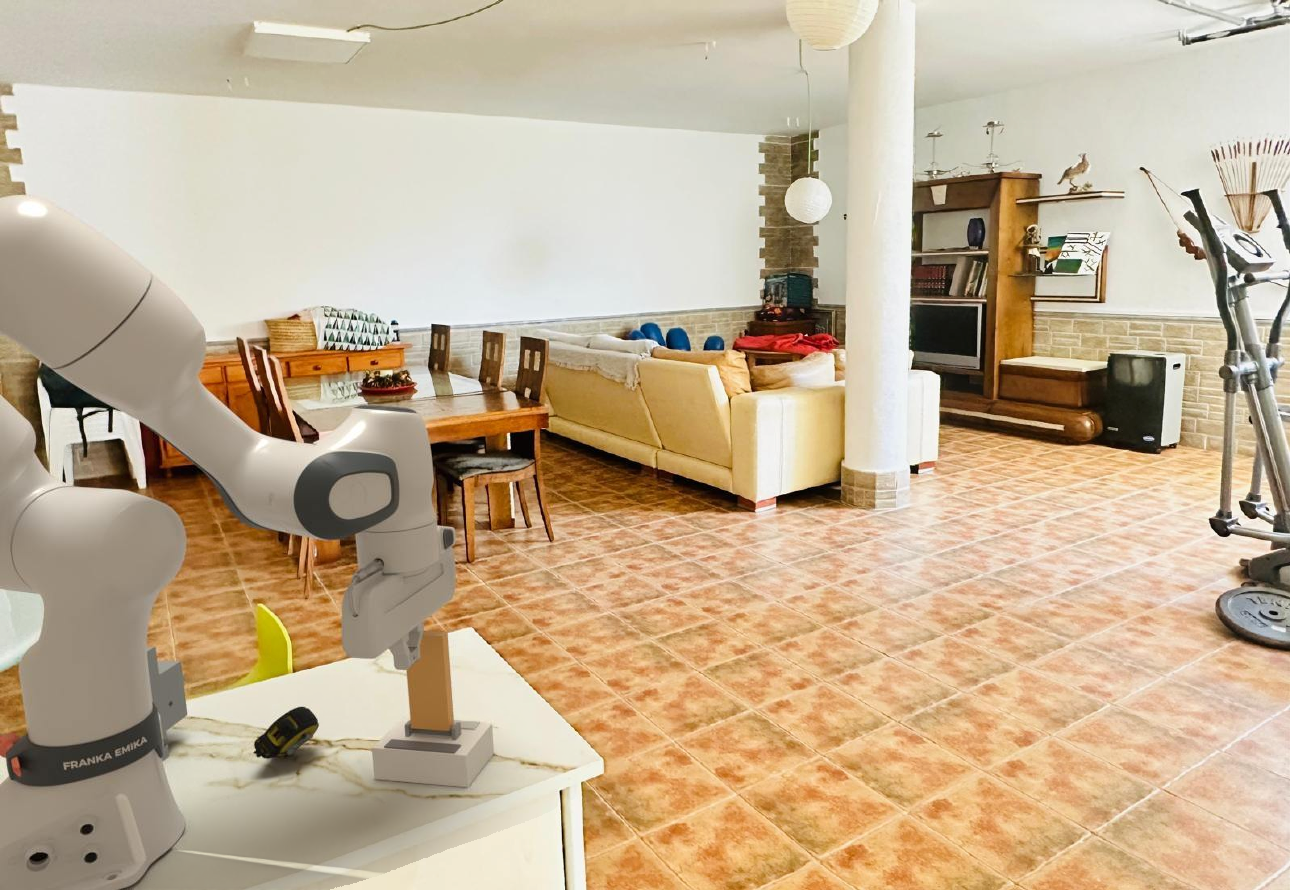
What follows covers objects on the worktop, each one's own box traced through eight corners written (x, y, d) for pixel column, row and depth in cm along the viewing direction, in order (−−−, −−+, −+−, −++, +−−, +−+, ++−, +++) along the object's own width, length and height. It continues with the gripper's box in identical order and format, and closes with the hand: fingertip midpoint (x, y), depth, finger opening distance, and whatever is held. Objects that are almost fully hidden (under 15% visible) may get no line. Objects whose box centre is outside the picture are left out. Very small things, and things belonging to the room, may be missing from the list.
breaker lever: (449, 738, 105) (442, 635, 103) (411, 735, 107) (403, 634, 104) (454, 732, 107) (447, 631, 105) (417, 730, 108) (409, 629, 106)
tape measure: (290, 763, 111) (273, 740, 112) (332, 725, 112) (315, 702, 113) (264, 768, 105) (246, 743, 106) (309, 727, 106) (291, 703, 107)
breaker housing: (468, 787, 102) (465, 743, 101) (374, 779, 105) (370, 736, 104) (493, 753, 110) (491, 712, 109) (406, 746, 112) (402, 705, 112)
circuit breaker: (198, 735, 117) (185, 628, 115) (125, 793, 103) (109, 673, 101) (146, 734, 118) (132, 628, 116) (67, 792, 104) (49, 672, 102)
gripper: (376, 577, 87) (387, 707, 89) (461, 525, 107) (469, 633, 109) (319, 575, 89) (332, 703, 91) (414, 524, 108) (422, 631, 110)
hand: (407, 664), depth 100 cm, fingers closed
